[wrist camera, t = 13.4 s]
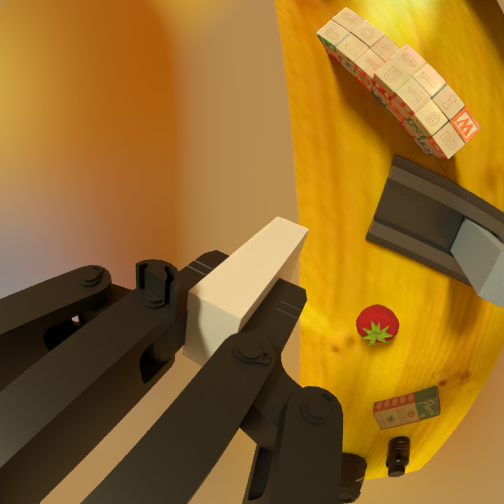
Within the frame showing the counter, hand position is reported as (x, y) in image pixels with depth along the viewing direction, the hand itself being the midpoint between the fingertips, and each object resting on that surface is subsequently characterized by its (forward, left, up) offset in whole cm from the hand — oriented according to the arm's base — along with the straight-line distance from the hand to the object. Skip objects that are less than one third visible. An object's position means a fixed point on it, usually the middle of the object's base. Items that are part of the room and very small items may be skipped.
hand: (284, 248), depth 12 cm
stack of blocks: (-16, +4, -31) cm, 35 cm away
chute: (+1, +19, -31) cm, 36 cm away
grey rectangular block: (+1, +24, -31) cm, 39 cm away
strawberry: (+19, +15, -31) cm, 39 cm away
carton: (+41, +36, -32) cm, 63 cm away
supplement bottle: (+58, +47, -31) cm, 81 cm away
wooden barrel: (+81, +40, -31) cm, 95 cm away
